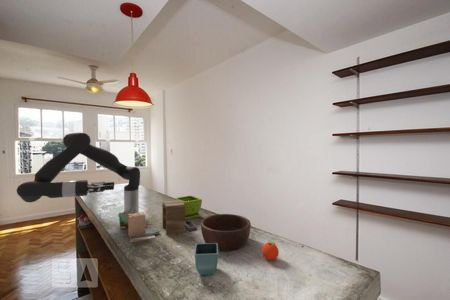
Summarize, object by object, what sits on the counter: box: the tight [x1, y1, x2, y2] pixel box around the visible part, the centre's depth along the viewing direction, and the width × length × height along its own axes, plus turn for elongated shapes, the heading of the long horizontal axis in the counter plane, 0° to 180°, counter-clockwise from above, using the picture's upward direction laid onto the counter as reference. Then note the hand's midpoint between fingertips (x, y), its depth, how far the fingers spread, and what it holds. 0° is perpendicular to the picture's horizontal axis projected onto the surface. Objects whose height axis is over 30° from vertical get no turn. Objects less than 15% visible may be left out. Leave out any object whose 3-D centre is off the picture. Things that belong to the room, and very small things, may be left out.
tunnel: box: [161, 199, 186, 236], centre depth 122 cm, size 12×10×16 cm
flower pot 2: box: [194, 243, 219, 276], centre depth 82 cm, size 9×9×9 cm
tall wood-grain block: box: [127, 211, 160, 238], centre depth 114 cm, size 7×15×11 cm, turn 117°
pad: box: [129, 234, 156, 243], centre depth 114 cm, size 14×12×1 cm
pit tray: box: [185, 219, 198, 232], centre depth 126 cm, size 12×5×2 cm, turn 27°
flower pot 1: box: [174, 195, 203, 221], centre depth 143 cm, size 14×14×13 cm
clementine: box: [261, 241, 280, 261], centre depth 91 cm, size 8×7×7 cm
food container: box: [118, 207, 137, 231], centre depth 125 cm, size 12×6×10 cm, turn 168°
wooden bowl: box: [200, 213, 252, 252], centre depth 107 cm, size 25×25×10 cm
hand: (114, 185), depth 108 cm, fingers open, 8 cm apart
